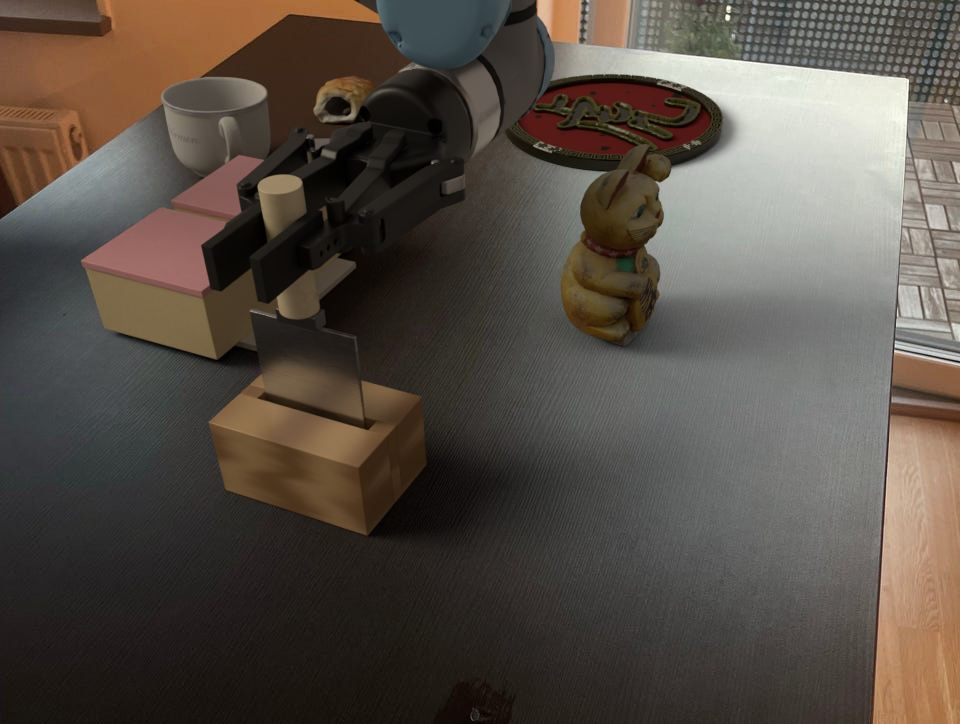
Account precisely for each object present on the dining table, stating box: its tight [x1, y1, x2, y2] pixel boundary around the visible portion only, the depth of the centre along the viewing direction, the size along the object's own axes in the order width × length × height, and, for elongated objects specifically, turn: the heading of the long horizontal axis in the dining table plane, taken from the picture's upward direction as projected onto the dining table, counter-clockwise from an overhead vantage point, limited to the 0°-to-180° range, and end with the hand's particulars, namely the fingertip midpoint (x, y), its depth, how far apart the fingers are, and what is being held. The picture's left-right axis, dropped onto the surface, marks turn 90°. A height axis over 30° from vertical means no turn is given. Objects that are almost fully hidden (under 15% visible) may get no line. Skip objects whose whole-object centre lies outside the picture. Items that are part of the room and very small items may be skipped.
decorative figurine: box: [560, 144, 673, 347], centre depth 84 cm, size 10×8×15 cm
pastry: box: [313, 75, 376, 125], centre depth 121 cm, size 9×7×4 cm
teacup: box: [160, 76, 271, 179], centre depth 108 cm, size 14×11×8 cm
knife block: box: [208, 373, 427, 537], centre depth 74 cm, size 12×9×6 cm
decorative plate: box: [504, 73, 724, 172], centre depth 118 cm, size 25×1×25 cm
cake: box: [80, 155, 357, 360], centre depth 92 cm, size 16×23×7 cm
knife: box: [250, 175, 367, 430], centre depth 66 cm, size 8×3×17 cm, turn 64°
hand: (235, 274), depth 59 cm, fingers closed on knife, 3 cm apart
